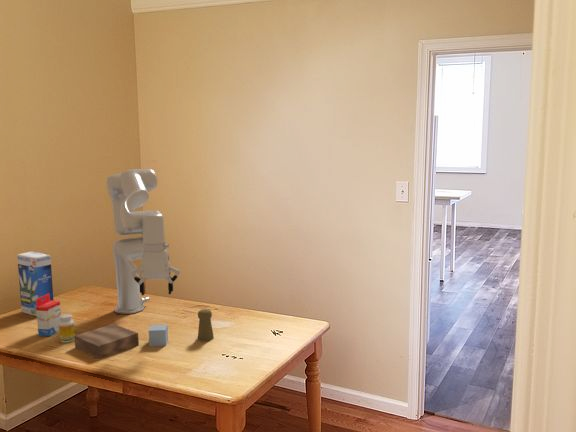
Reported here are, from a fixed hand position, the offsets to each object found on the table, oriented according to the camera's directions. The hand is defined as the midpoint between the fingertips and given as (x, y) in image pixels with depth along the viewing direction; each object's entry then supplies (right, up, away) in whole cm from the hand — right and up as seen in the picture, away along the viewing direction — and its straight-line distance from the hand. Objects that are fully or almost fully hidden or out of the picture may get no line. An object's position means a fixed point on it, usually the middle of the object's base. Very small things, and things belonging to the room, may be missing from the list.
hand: (156, 293), depth 207 cm
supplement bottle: (-35, -19, +7) cm, 40 cm away
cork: (+17, -18, +7) cm, 26 cm away
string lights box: (-60, -14, +40) cm, 74 cm away
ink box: (-45, -17, +15) cm, 50 cm away
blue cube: (0, -19, +3) cm, 19 cm away
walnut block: (-18, -20, 0) cm, 27 cm away
